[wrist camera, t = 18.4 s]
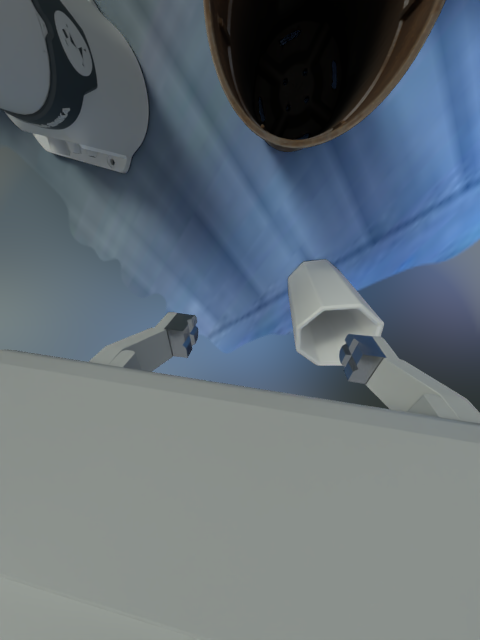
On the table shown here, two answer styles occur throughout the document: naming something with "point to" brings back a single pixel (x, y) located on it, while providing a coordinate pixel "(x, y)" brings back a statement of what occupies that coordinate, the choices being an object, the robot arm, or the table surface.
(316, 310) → the cup
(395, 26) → the plant pot
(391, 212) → the table surface
